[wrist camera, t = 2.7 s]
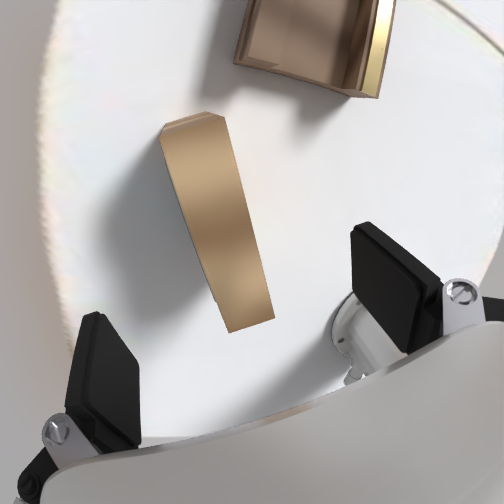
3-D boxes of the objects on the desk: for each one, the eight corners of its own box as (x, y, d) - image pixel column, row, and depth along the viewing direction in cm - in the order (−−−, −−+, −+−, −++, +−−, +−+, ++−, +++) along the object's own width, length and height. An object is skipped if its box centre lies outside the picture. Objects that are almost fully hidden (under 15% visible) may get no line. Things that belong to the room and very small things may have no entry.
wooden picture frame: (244, 250, 26) (275, 318, 19) (208, 261, 26) (225, 334, 18) (206, 111, 20) (224, 117, 12) (163, 124, 20) (154, 138, 12)
